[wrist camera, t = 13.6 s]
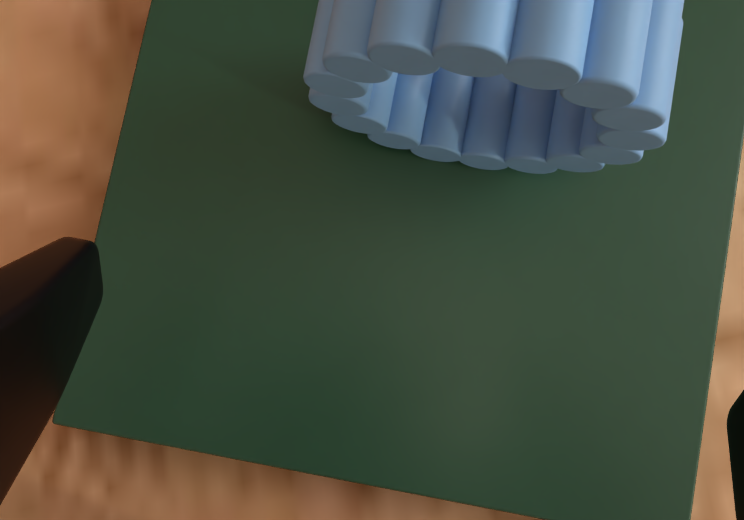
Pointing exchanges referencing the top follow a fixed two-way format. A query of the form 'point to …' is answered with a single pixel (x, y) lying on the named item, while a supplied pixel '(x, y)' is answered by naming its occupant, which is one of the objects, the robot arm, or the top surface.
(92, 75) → the top surface
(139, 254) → the cutting board
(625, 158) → the blue fluted ring
